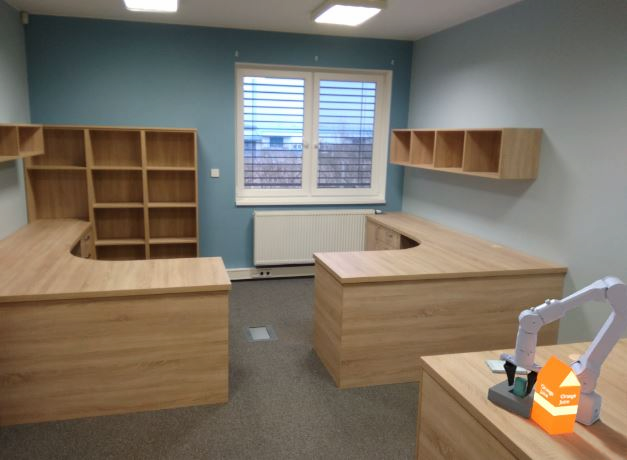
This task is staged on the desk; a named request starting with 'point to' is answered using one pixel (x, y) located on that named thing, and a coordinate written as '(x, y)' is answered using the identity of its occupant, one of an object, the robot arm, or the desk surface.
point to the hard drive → (501, 367)
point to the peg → (520, 387)
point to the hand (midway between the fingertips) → (519, 389)
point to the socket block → (512, 399)
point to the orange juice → (556, 397)
